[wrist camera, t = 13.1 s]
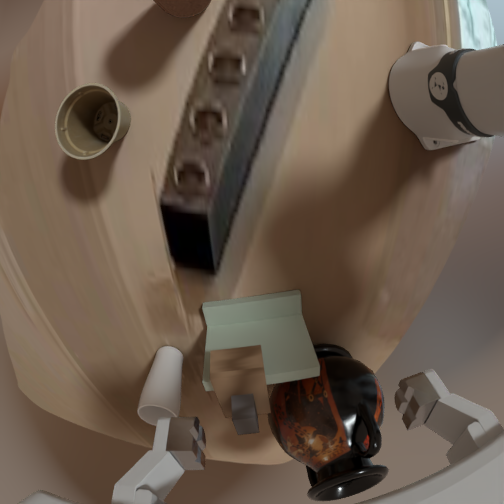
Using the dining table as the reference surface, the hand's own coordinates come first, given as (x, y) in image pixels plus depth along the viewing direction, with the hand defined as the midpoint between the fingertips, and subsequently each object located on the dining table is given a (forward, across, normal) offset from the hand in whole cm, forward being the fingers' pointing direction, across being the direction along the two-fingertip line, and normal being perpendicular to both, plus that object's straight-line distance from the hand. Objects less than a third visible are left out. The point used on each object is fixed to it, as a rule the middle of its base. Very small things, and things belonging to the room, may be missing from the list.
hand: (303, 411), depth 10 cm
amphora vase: (+34, -9, +36) cm, 51 cm away
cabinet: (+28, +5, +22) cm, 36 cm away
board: (+34, +2, +19) cm, 39 cm away
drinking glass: (+34, +19, +27) cm, 48 cm away
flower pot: (+34, +18, -15) cm, 42 cm away
